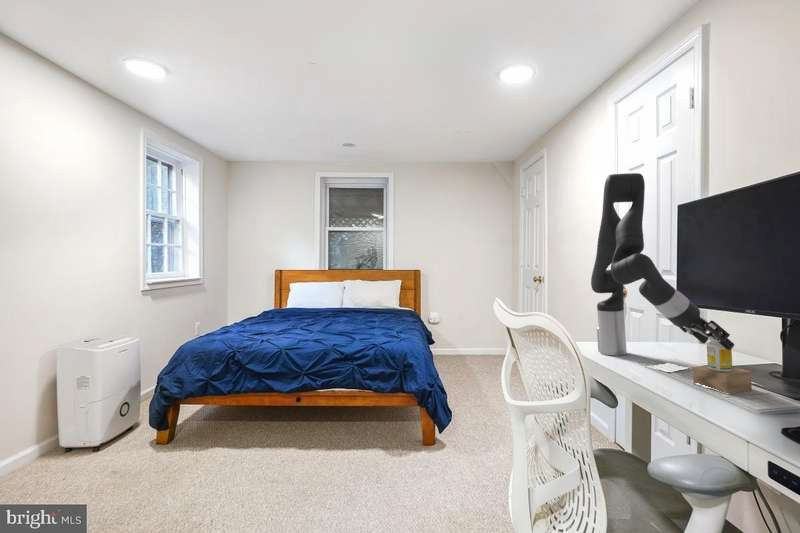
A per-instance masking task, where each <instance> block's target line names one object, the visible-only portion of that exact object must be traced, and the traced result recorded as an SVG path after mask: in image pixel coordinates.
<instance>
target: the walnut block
mask: <svg viewBox="0 0 800 533" xmlns="http://www.w3.org/2000/svg"><path fill="white" fill-rule="evenodd" d="M692 379H693V381H692V382H694V383H699V384H701V385H705V386H708V387H711V388H714V389H717V390H719V391H721V392H725V393H731V394H734V392H736V393H740V392H745V391H750V390H753V388H752V387H753V386H752V371H751V370H746V369H742V368H738V367H734V366H732V371H730V372H720V371H714V370H711V369H709V368H708V364H705V365H699V366H694V367H692ZM694 383H693V384H694ZM721 392H720V393H721ZM725 393H724V394H725Z"/></svg>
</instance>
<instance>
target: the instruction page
mask: <svg viewBox="0 0 800 533" xmlns="http://www.w3.org/2000/svg"><path fill="white" fill-rule="evenodd" d="M645 368H647V369H652V370H654V371H657V370H656V369H655V368H653V367H651V365H647V366H645Z"/></svg>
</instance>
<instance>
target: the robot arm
mask: <svg viewBox="0 0 800 533" xmlns="http://www.w3.org/2000/svg"><path fill="white" fill-rule="evenodd" d="M645 186H646V185H645V178H644V176H643V174H641V173H636V172H634V173H633V172H632V173H630V172H629V173H615V174H610V175H609V174H608V176H607V177H606V179H605V182H604V188H603V200H602V211H601V212H602V213H601V221H600V227H599V232H598V238H597V246H596V254H595V261H594V265H593V269H592V273H591V277H590V278H591V279H590V285H591V290H592V291H593V292H594V293H596V294H611V295H610V297H609V298H607V299H603V300H602V301H599V302H597V305H596V309H597V310H596V311H597V323H598V327H597V328H596V338H597V339H596V340H597V351H598V352H599V353H601V354H602V355H607V356H614V357H615V356H616V357H617V356H625V355H627V354H628V351H627V338H626V336H627V335H626V324H625V323H626V322H625V305H624V304H625V303H624V302H625V301H624V300H625V299H624V296H625V295H624V286H625V285H630V284H633V283H635V282H637V281H639V280H642V279H643V280H644V281H643V282H642V283H641V284H640V285H639V288H638V291H639V293H640V295H641V296H642V297H643V298H645V300H647V301H648V302H649V303H651V304H652V305H653V307H654V308H655V309H656V310H657V311H658V312H659V313H660V314H662V315H663V316H664V317H665V319H667V320H668V321H669V322H670V323H672V324H673V325H674V326H676V327H678V328H679V329H680V330H681V331H682V332H683V333H688V334H689V335H691V336H693V337H695V339H697V340H698V341H699V342H700V343H702V344H706V343H707V342H708V340H709V337H711V338H713V339H714V340H716V341H717V342H719V343H720V344H721V345H722V346H723V347H724V348H726V349H727V350H731V349H733V348H735V347H734V346H735V343H734V342H732V340H730V339H729V337H730V335H731V334H730V333H729V332H728V331H726V329H724V328H723V327H722V326H721V325H719V324H718V323H717V322H715V321H714V320H710V321H709V322H708V321H707V320H706V319H704V318H703V317H701V310H700V308H699V307H698V306H697V305H695V304H694V303H693V301H691V300H690V299H688V298H687V296H685V295H684V294H683V293H682V292H680V291H679V290H678V289H676V288H674V286H672V285H671V284H670V283H669V282H667V281H666V280H665V279H664V278H663V276H662V275H661V273H660V271H659V270H658V268H657V267H656V265H655V264H654V261H653V260H652V259H651V258H650V257H649V256H648V255H647V254H644V253H642V252H643V251H644V248H645V242H644V239H645V238H644V229H643V220H644V218H643V217H644V211H645V210H644V208H645V192H646V191H645V190H646V187H645ZM615 203H632V204H631V206H630V208H629V209H628V211H627V212H626V213H625V214H624V216H622V218H620V216H619V215H618V213H617V210H616V208H615V205H614V204H615ZM609 266H610V269H608V268H609ZM707 332H708V333H707ZM713 335H714V336H713Z"/></svg>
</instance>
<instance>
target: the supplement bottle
mask: <svg viewBox="0 0 800 533" xmlns="http://www.w3.org/2000/svg"><path fill="white" fill-rule="evenodd" d="M712 335H713V334H712ZM713 336H714V335H713ZM708 340H709V342H706V343H707V344H706V357H707V359H706V360H707V365H708V368H709V369H711V370H714V371H720V372H730V371H732V367H733V354H732V353H733V352H732V349H733V348H732V349H731V350H727V349H726V348H724V347H723V346H722V345H721V344H720V343H719V342H717V341H716V340H714V339H713V338H711V337H709V339H708Z"/></svg>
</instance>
